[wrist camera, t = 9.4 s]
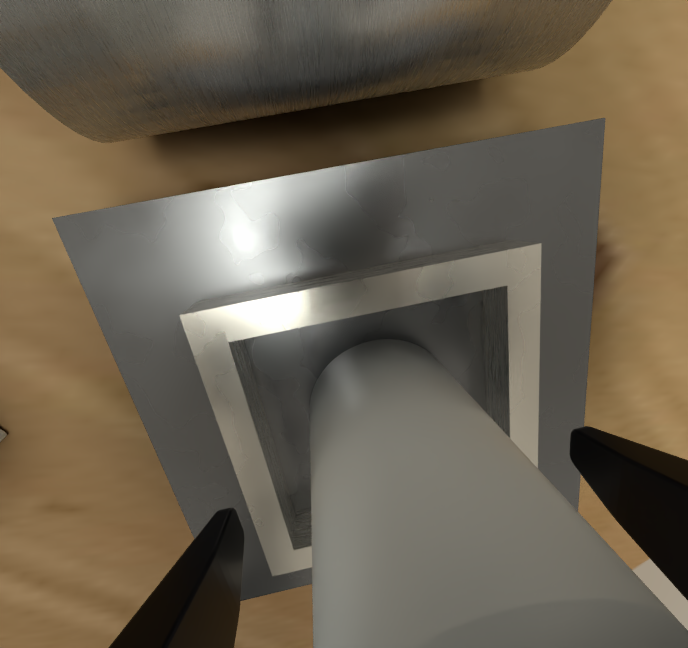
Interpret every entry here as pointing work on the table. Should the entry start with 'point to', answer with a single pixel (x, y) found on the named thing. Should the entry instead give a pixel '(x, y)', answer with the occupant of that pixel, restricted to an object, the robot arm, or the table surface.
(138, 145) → the table surface
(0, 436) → the supplement box
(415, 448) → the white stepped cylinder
